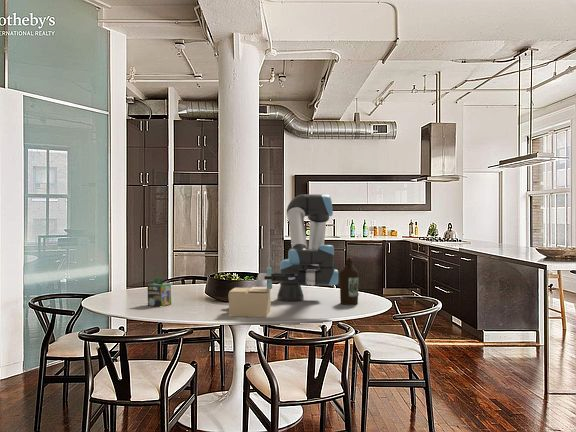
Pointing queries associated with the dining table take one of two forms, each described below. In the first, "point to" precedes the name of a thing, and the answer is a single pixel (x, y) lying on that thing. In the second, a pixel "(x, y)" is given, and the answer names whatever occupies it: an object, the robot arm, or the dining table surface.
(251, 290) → the flap
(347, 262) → the olive oil
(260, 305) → the carton
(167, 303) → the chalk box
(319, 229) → the robot arm
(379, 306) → the dining table surface
